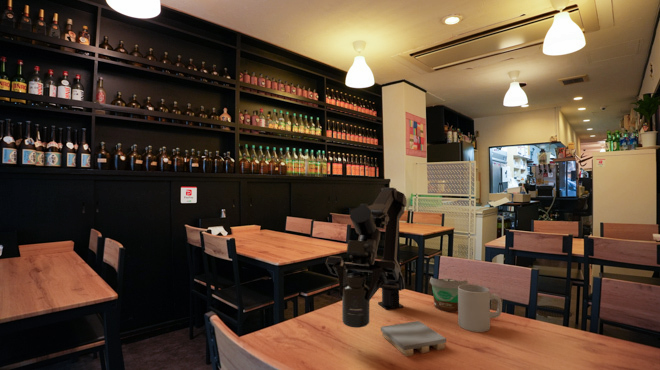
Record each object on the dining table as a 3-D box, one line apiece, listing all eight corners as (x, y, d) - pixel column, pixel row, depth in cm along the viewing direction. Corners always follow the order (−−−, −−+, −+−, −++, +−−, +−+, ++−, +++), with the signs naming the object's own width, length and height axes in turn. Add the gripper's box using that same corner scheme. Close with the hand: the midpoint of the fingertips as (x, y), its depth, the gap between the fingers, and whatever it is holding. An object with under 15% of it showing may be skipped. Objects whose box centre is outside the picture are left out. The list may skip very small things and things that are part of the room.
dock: (380, 336, 91) (380, 326, 91) (418, 329, 95) (418, 320, 95) (404, 356, 80) (404, 346, 80) (446, 348, 84) (446, 338, 84)
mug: (463, 331, 93) (462, 292, 93) (454, 319, 102) (454, 283, 102) (508, 333, 92) (507, 293, 92) (495, 321, 101) (495, 284, 101)
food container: (428, 310, 110) (427, 280, 110) (430, 304, 115) (429, 275, 115) (468, 315, 105) (468, 283, 105) (468, 309, 111) (468, 278, 111)
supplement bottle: (352, 330, 79) (352, 280, 79) (337, 321, 85) (336, 274, 85) (375, 324, 83) (374, 275, 83) (359, 315, 89) (358, 270, 89)
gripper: (327, 226, 91) (309, 277, 81) (395, 229, 84) (384, 285, 73) (339, 249, 98) (324, 299, 88) (402, 254, 91) (393, 309, 81)
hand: (354, 298), depth 83 cm, fingers closed on supplement bottle, 7 cm apart
